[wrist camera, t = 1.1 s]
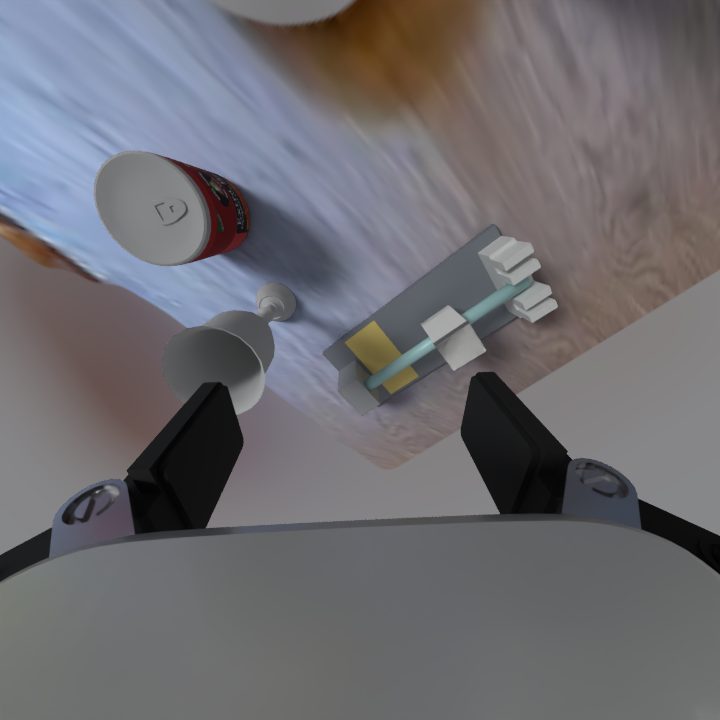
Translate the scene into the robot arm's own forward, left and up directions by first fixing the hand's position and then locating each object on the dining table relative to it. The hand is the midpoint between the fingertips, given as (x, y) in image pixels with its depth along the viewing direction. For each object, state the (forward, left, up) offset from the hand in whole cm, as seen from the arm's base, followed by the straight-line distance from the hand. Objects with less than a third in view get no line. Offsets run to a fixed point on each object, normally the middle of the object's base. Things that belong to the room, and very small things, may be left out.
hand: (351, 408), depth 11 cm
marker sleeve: (-6, +12, -23) cm, 27 cm away
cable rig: (-4, +12, -26) cm, 29 cm away
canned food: (+7, -14, -26) cm, 31 cm away
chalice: (+9, -3, -26) cm, 28 cm away
